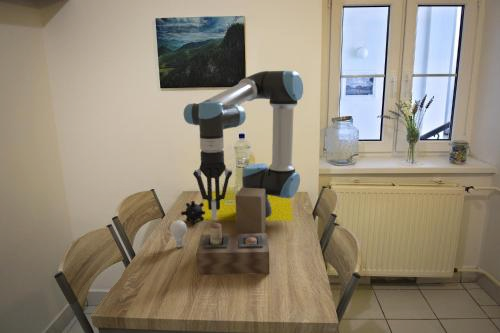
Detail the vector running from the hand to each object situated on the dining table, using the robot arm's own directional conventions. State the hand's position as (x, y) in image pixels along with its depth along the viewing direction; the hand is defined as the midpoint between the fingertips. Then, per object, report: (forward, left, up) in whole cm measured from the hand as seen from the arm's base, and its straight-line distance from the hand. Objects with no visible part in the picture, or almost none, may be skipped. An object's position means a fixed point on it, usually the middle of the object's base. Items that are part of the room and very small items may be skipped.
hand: (214, 218), depth 126 cm
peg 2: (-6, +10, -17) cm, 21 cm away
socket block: (-3, +5, -17) cm, 18 cm away
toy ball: (-26, -30, -18) cm, 43 cm away
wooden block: (-23, +1, -18) cm, 29 cm away
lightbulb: (-4, -20, -18) cm, 27 cm away
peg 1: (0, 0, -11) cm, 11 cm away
